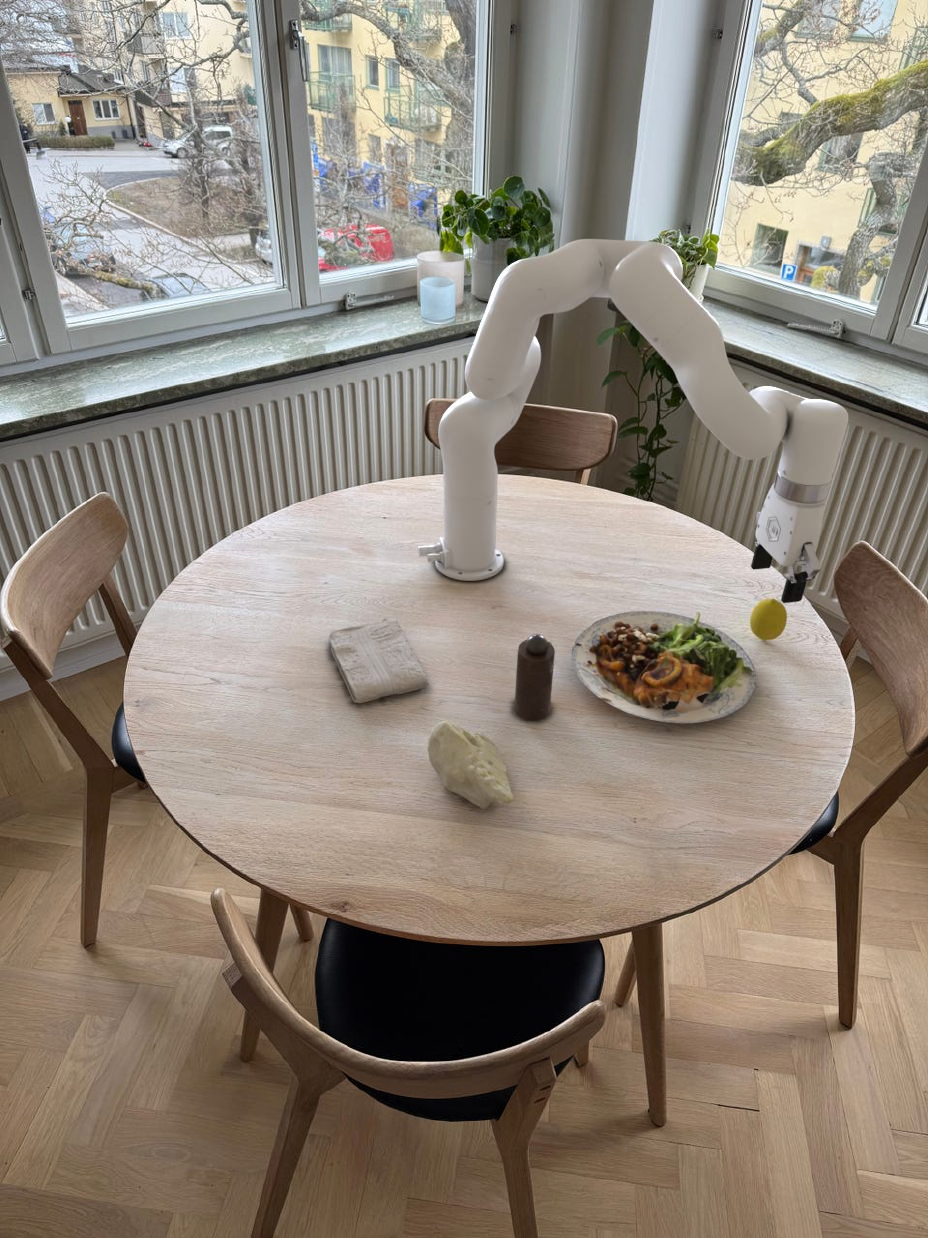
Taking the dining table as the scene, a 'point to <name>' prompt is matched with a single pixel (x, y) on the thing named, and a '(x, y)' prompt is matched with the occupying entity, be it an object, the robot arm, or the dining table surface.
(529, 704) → the pepper mill
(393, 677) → the washcloth
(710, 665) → the plate of food
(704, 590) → the dining table surface
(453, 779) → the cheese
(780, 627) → the lemon
